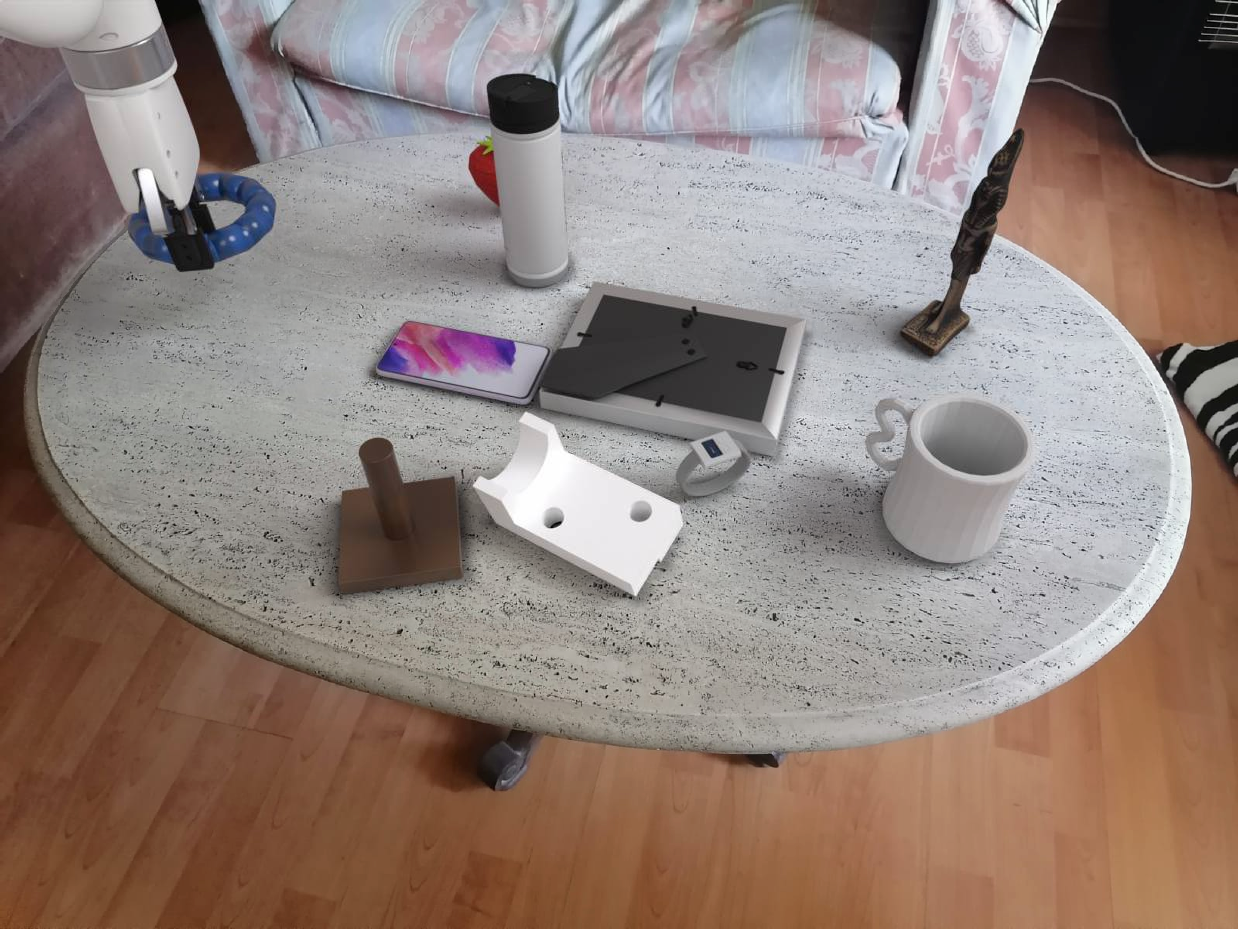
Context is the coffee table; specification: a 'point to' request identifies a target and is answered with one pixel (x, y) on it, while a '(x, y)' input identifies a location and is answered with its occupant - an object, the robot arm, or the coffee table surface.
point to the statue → (967, 253)
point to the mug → (952, 473)
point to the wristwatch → (713, 463)
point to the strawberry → (484, 169)
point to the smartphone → (465, 362)
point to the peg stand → (397, 527)
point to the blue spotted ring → (226, 238)
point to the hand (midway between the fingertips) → (198, 255)
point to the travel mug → (529, 177)
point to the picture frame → (676, 366)
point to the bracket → (580, 509)
